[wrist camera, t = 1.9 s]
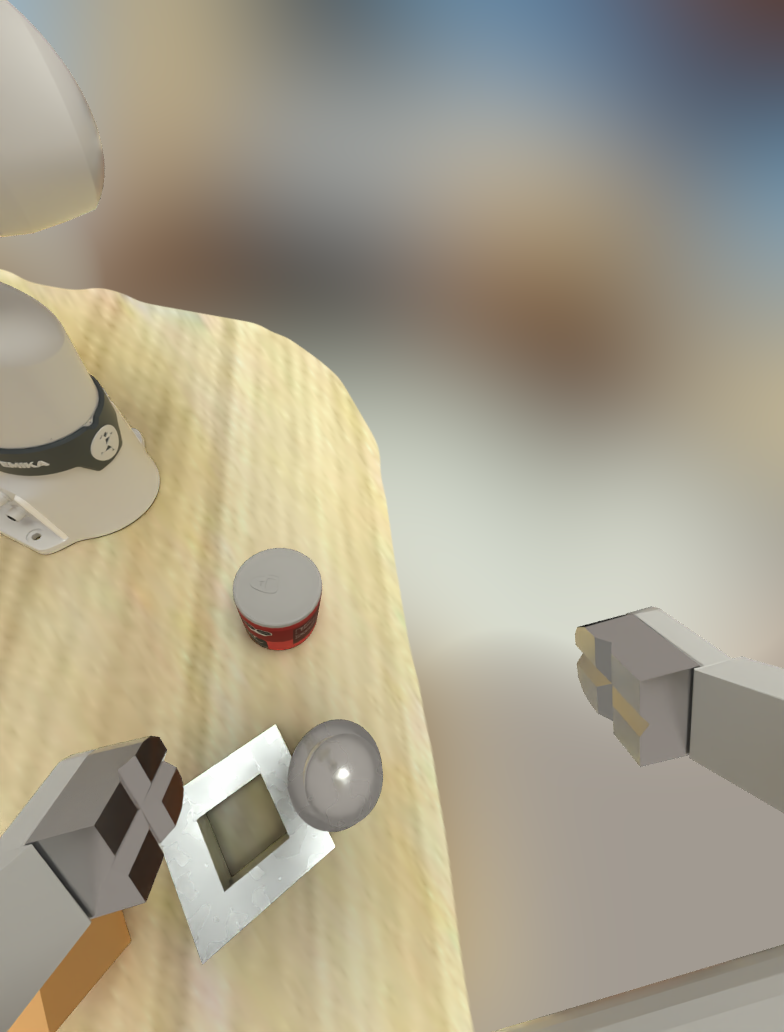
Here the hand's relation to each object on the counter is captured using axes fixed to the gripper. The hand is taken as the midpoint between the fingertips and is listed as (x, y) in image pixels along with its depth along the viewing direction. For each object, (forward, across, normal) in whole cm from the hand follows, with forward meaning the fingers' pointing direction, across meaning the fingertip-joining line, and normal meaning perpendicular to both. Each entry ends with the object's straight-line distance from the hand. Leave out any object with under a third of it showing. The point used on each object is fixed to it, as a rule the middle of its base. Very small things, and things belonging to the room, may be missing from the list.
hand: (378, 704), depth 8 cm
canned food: (+35, +12, +17) cm, 41 cm away
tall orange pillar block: (+15, +28, +30) cm, 43 cm away
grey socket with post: (+22, +14, +29) cm, 39 cm away
